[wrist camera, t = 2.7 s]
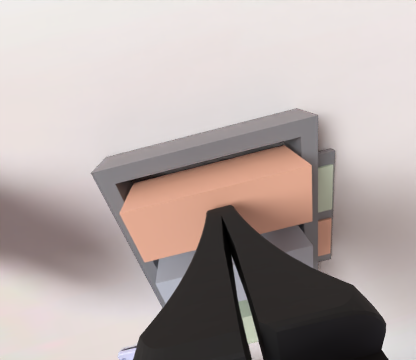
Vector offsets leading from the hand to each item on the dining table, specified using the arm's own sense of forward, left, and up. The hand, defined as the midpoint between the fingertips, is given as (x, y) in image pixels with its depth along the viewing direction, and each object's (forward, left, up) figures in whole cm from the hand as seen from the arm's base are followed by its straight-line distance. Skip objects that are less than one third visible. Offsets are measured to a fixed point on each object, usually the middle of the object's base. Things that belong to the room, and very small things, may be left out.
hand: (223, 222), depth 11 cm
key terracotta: (0, 0, -4) cm, 4 cm away
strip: (-6, -8, -5) cm, 11 cm away
